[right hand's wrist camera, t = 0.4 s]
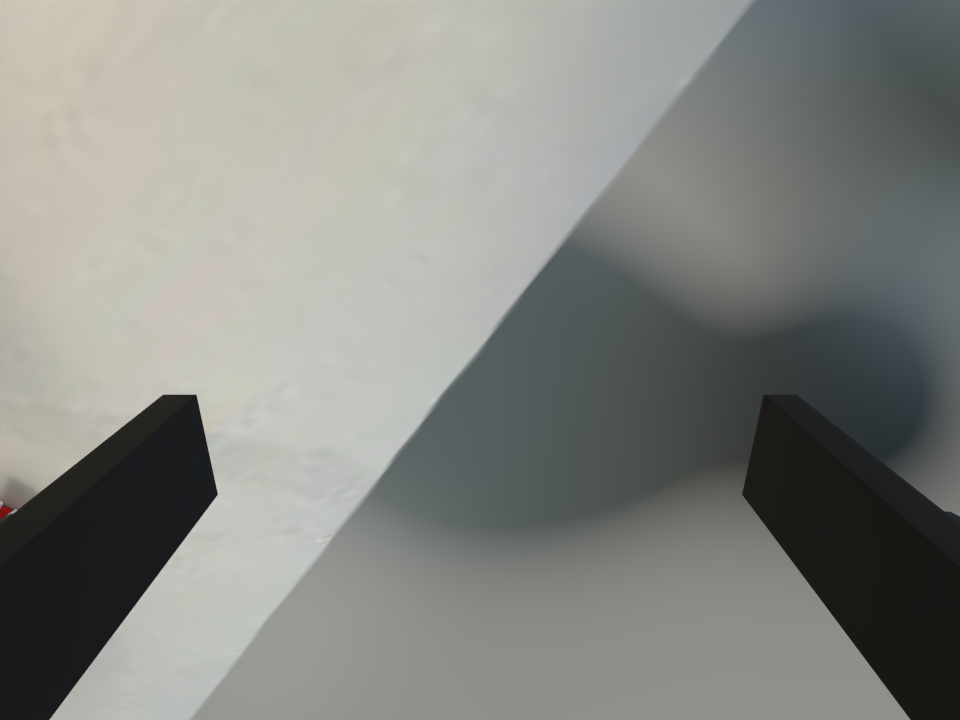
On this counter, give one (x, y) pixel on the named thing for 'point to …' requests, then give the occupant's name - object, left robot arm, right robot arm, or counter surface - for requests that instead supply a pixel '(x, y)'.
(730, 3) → the counter surface
